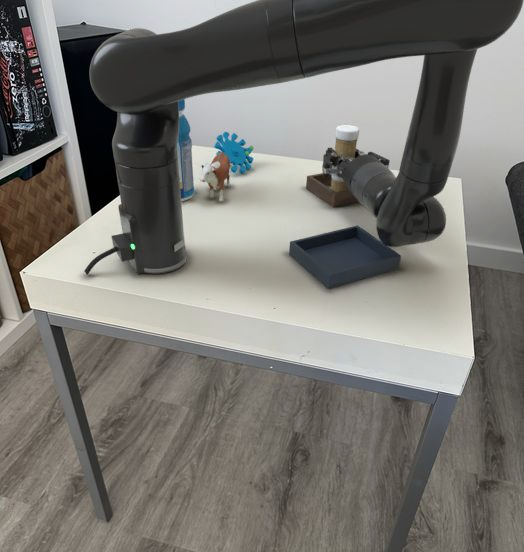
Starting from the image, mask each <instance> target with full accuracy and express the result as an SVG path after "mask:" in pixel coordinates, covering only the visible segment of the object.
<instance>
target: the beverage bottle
mask: <svg viewBox="0 0 524 552" xmlns="http://www.w3.org/2000/svg"><path fill="white" fill-rule="evenodd" d="M178 103H179V136H178V142H177V154H178V166H179V179H180V191H181V202H184V201H187V200H189V199H191V198H192V197H193V196H194V194H195V186H194V170H193V169H194V167H193V151H192V149H193V140H192V138H191V136H190V133H191V126H190V123H189V120H188V118H187V117H186V115H185V114H184V113H183V112H184V111H185V109H186V99H183V100H180V101H178Z"/></svg>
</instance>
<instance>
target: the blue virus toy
mask: <svg viewBox="0 0 524 552" xmlns="http://www.w3.org/2000/svg"><path fill="white" fill-rule="evenodd" d="M229 137H231V138H229ZM238 137H239V135H237V134H236V133H235V132H233V133H232V134H231V135H230V132H228V131H224V132H223V133H222V134H219V135H217V136H216V138H215V139H216V142H215V143H214V145H213V147H214V149H217V152H216V153H215V156H216V155H218V154H220V153H221V152H223V153H224V154H225V155H227V156H228V158H229V161H230V165H232V166H231V167H230V171H231V172H232V173H234V174H236V173H237V172H238V173H239V174H244V175H245V173H246V172H247V171H250V170H251V169H252V168H253V166H252V163H253V162H254V157H253V156H250V155H251V153H252V152H253V151H254V149H255V148H254V146H253V145H250V146H249V147H244V146H245V145H246V144H247V142H246V141H245V139H244V138H242V139H241V140H239V141H236V140H237V139H238ZM238 166H239V169H238Z"/></svg>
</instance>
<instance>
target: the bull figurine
mask: <svg viewBox="0 0 524 552" xmlns="http://www.w3.org/2000/svg"><path fill="white" fill-rule="evenodd" d="M230 170H231V164H230V161H229V158H228V156H227V155H225V154H224V153H223V152H222V151H221V153H220V154H218V155H216V154H215V156H214V157H213V159H212V160H211V163H210V164H204V165H203V164H202V165H201V176H200V177H199V181H200V182H202V183H207V185H208V187H209V191H210V195H209V199H210V200H214V199H215V196H216V195H215V191H217V190H218V188H219V191H218V192H219V197H218V202H219V203H224V195H223V194H224V189H225V187H226V189H227V188H229V189H230V188H231V181H230ZM225 180H226V183H225Z"/></svg>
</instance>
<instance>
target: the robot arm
mask: <svg viewBox="0 0 524 552" xmlns="http://www.w3.org/2000/svg"><path fill="white" fill-rule="evenodd" d="M523 5H524V0H254V1H251V2H249V3H245V4H242V5H240V6H237V7H235V8H233V9H232V8H231V9H229V10H227V11H224V12H223V13H220V14H218V15H216V16H214V17H212V18H210V19H207V20H205V21H203V22H201V23H199V24H196V25H193V26H190V27H188V28H184V29H181V30H176V31H171V32H165V33H159V34H158V33H155V32H154V31H152V30H149V29H146V28H141V27H139V28H137V27H135V28H130V29H127V30H125V31H122V32H120V33H117V34H115V35H114V36H111V37H109V38H108V39H106V40H105V41H103V42H102V43H101V44H100V46H99V47H98V48H97V49H96V50H95V52H94V54H93V56H92V58H91V60H90V65H89V82H90V86H91V89H92V91H93V92H94V95H95V96H96V97H97V98H98V100H99V101H100V102H101V103H102V104H103V105H104V106H106V107H107V108H109V109H110V110H112V111H113V112H117V117H116V118H117V119H116V127H115V131H114V134H113V137H112V141H111V147H112V154H113V160H114V165H115V171H116V172H115V173H116V178H117V179H116V180H117V185H118V191H119V198H120V204H118V213H119V218H120V219H119V220H120V225H121V232H122V233H118V234H112V235H111V241H112V248H110V249H108V250H106V251H104V252H102V253H100V254H98V255H96V257H94V258H93V259H92V260H91V261H90V262H89V263H88V265H87V266H86V267H85V269H84V273H85V274H86V275H89V274H90V273H91V272H92V270H93V268H94V267H95V266H96V264H98V263H99V262H100V261H102V260H103V259H105V258H107V257H109V256H111V255H113V254H114V253H116V254H117V256H118V258H119V259H120V261H121V262H127V261H128V263H129V264H130V266H131V267H132V269H133V270H134V271H135V273H136V274H137V275H141V274H151V275H157V274H166V273H170V272H173V271H176V270H178V269H180V268H181V267H182V266H184V265H185V263H186V262H187V251H186V242H185V230H184V217H183V206H182V201H181V191H180V179H179V166H178V154H177V142H178V136H179V103H178V101H180V100H183V99H185V100H187V99H190V98H193V97H197V96H202V95H206V94H214V93H221V92H222V93H223V92H231V91H239V90H246V89H252V88H258V87H265V86H271V85H278V84H279V85H280V84H285V83H289V82H294V81H298V80H304V79H308V78H312V77H316V76H320V75H325V74H328V73H332V72H333V73H334V72H338V71H344V70H348V69H352V68H356V67H361V66H366V65H371V64H374V63H378V62H383V61H387V60H394V59H402V58H412V57H420V56H421V57H422V56H423V62H422V68H421V73H420V80H419V85H418V90H417V94H416V99H415V103H414V105H413V106H414V107H413V110H412V111H413V112H412V115H411V119H410V123H409V127H408V131H407V136H406V140H405V144H404V148H403V151H402V157H401V162H400V166H399V170H398V174H397V175H396V176H395V173H394V172H393V171H392V170H391V169H390V168H389V166H390V161H391V160H390V159H389V158H387V157H383V156H382V155H380V154H377V153H376V152H373V151H368V152H367V153H365V152H364V151H363V150H359V149H358V148H356V152H355V159H354V158H352V157H351V158H350V157H348V156H346V155H344V154H341V155H339V154H337V153H336V152H335V149H334V148H333V147H327V148H326V149H325V153H324V154H323V156H322V157H323V159H322V165H321V168H322V169H321V170H322V173H323V177H329V175H331V174H337V176H338V177H340V178H342V179H343V181H344V183H345V186H346V188H347V189H348V190H349V191H350V192H351V193H352V194H353V196H354V197H355V198H356V199H357V200H358V201H359V202H358V203H360V205H362V206H363V207H364V208H366V210H368V211H369V213H370V214H371V215H372V216H373V217H374V218H375V219H376V220H375V221H376V222H375V227H376V233H377V236H378V238H379V241H381V242H382V243H384V244H385V245H387V246H388V247H390V248H398V247H404V246H411V245H418V244H423V243H429V242H433V241H435V240H437V239H438V238H439V237H441V235H442V234H443V232H444V231H445V229H446V225H447V214H446V211H445V209H444V207H443V204H441V202H440V201H439V200H438V199H437V198H436V197H435V196H437V195H439V194H440V193H441V192H442V191H444V189H445V187H446V184H447V182H448V178H449V176H450V174H451V173H450V172H451V169H452V166H453V162H454V159H455V156H456V153H457V150H458V145H459V141H460V136H461V131H462V126H463V119H464V112H465V104H466V99H467V92H468V86H469V83H470V78H471V72H472V69H473V66H474V62H475V58H476V55H477V52H478V50H479V49H481V48H483V47H487V46H489V45H490V44H492V43H494V42H495V41H497V40H498V39H500V38H501V37H502V36H504V35H505V34H506V33H507V32H508V31H509V30H510V28H511V27H512V26H513V25H514V23H515V22H516V21H517V19H518V17H519V15H520V13H521V11H522V8H523Z"/></svg>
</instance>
